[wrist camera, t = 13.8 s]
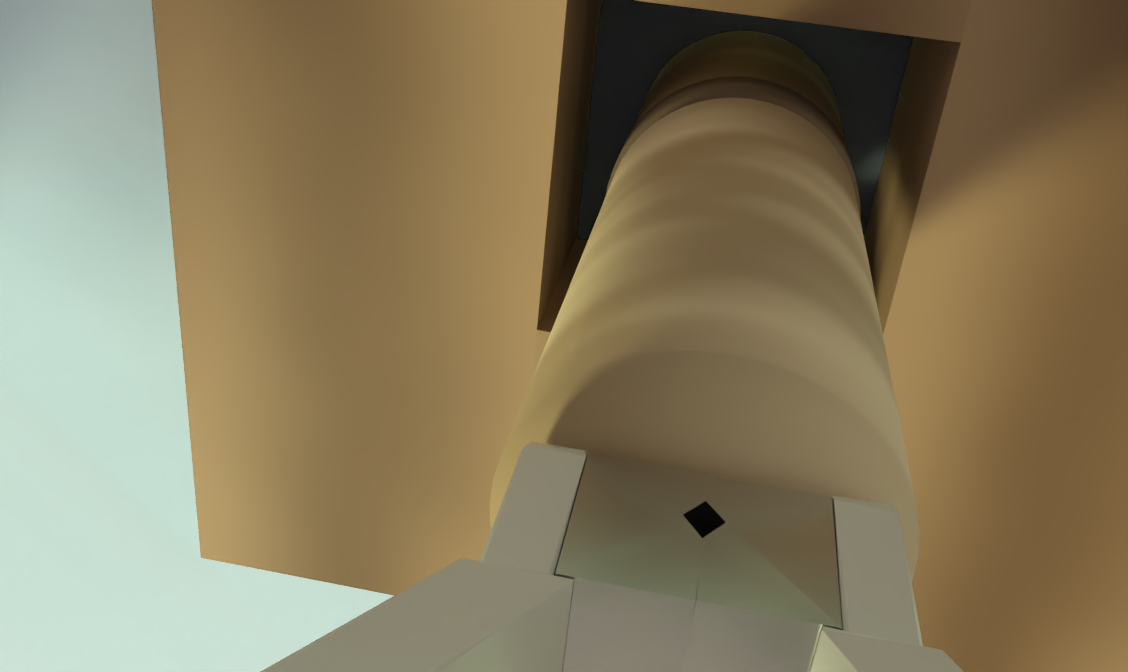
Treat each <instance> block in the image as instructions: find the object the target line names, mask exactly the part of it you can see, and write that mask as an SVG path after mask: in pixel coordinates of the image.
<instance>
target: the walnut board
mask: <svg viewBox="0 0 1128 672" xmlns="http://www.w3.org/2000/svg"><path fill="white" fill-rule="evenodd" d="M636 1H643V2H651V3H659V4H667V5H674V6H682V7H690V8H698V9H705V10H713V11H721V12H728V13H736V14H744V15H752V16H759V17H767V18H775V19H782V20H790V21H798V22H806V23H813V24H821V25H829V26H837V27H844V28H852V29H860V30H867V31H875V32H883V33H891V34H898V35H906V36H914V37H913V41H912V45H911V49H910V53H909V57H908V61H907V65H906V69H905V73H904V77H903V81H902V85H901V90H900V94H899V98H898V102H897V106H896V110H895V114H894V118H893V122H892V126H891V130H890V134H889V139H888V143H887V147H886V151H885V155H884V159H883V163H882V167H881V171H880V175H879V179H878V183H877V187H876V192H875V196H874V200H873V204H872V208H871V212H870V216H869V220H868V224H867V228H866V232H865V236H864V241H865V246H866V251H867V256H868V261H869V267H870V272H871V277H872V282H873V287H874V292H875V297H876V303H877V308H878V313H879V318H880V323H881V328H882V333H883V338H884V344H885V349H886V354H887V359H888V364H889V369H890V374H891V379H892V385H893V390H894V395H895V400H896V405H897V410H898V415H899V420H900V426H901V431H902V436H903V441H904V446H905V451H906V456H907V462H908V467H909V472H910V477H911V482H912V487H913V492H914V497H915V503H916V508H917V515H918V524H919V550H918V559H917V563H916V568H915V572H914V576H913V580H912V587H913V593H914V599H915V604H916V610H917V616H918V621H919V627H920V632H921V638H922V644H923V646H925V647H930V648H935V649H940V650H943V651H944V652H945V653H946V654H947V655H948V656H949V657H950V658H951V659H952V660H953V661H954V662H955V663H956V664H957V665H958V666H959V667H960V668H961V669H962V670H963V671H964V672H1128V0H636ZM601 2H602V0H152V10H153V21H154V32H155V44H156V55H157V66H158V77H159V89H160V100H161V111H162V123H163V134H164V145H165V156H166V168H167V179H168V190H169V202H170V213H171V224H172V235H173V247H174V258H175V269H176V281H177V292H178V303H179V315H180V326H181V337H182V348H183V360H184V371H185V382H186V394H187V405H188V416H189V427H190V439H191V450H192V461H193V473H194V484H195V495H196V506H197V518H198V529H199V540H200V552H201V558H206V559H211V560H216V561H221V562H226V563H232V564H237V565H242V566H247V567H252V568H257V569H262V570H267V571H273V572H278V573H283V574H288V575H293V576H298V577H303V578H308V579H313V580H319V581H324V582H329V583H334V584H339V585H344V586H349V587H354V588H359V589H365V590H370V591H375V592H380V593H385V594H390V595H397V594H399V593H401V592H402V591H404V590H406V589H408V588H409V587H411V586H413V585H415V584H416V583H418V582H420V581H422V580H424V579H425V578H427V577H429V576H431V575H432V574H434V573H436V572H438V571H439V570H441V569H443V568H445V567H446V566H448V565H450V564H452V563H454V562H455V561H457V560H459V559H461V558H464V559H470V560H475V561H480V558H481V555H482V553H483V550H484V548H485V545H486V542H487V540H488V537H489V534H490V532H491V527H490V496H491V490H492V483H493V478H494V475H495V472H496V469H497V466H498V463H499V460H500V457H501V455H502V452H503V450H504V447H505V445H506V442H507V440H508V437H509V435H510V432H511V430H512V427H513V425H514V422H515V420H516V417H517V415H518V412H519V410H520V408H521V405H522V403H523V400H524V398H525V395H526V393H527V390H528V388H529V385H530V383H531V380H532V378H533V375H534V373H535V370H536V368H537V365H538V363H539V361H540V358H541V356H542V353H543V351H544V348H545V346H546V343H547V341H548V338H549V336H550V333H551V331H552V328H553V326H554V323H555V321H556V318H557V316H558V314H559V311H560V309H561V306H562V304H563V301H564V299H565V296H566V294H567V291H568V289H569V286H570V284H571V281H572V279H573V276H574V274H575V271H576V269H577V266H578V264H579V262H580V259H581V257H582V254H583V252H584V249H585V247H586V244H587V242H588V240H582V239H576V237H577V227H578V218H579V209H580V199H581V190H582V180H583V171H584V162H585V152H586V143H587V133H588V124H589V115H590V105H591V96H592V86H593V77H594V67H595V58H596V49H597V39H598V30H599V20H600V11H601Z"/></svg>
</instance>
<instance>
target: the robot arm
mask: <svg viewBox="0 0 1128 672" xmlns="http://www.w3.org/2000/svg"><path fill="white" fill-rule="evenodd" d="M261 672H964V671H963V670H962V669H961V668H960V667H959V666H958V665H957V664H956V663H955V662H954V661H953V660H952V659H951V658H950V657H949V656H948V655H947V654H946V653H945V652H944V651H943V650H940V649H935V648H930V647H925V646H923V644H922V638H921V632H920V627H919V621H918V616H917V610H916V604H915V599H914V593H913V587H912V582H911V576H910V570H909V565H908V559H907V553H906V548H905V542H904V537H903V531H902V525H901V520H900V514H899V511H898V510H897V509H896V508H895V507H894V506H893V504H887V503H880V502H873V501H866V500H860V499H853V498H846V497H839V496H832V495H830V496H825V495H818V494H812V493H806V492H800V491H793V490H787V489H781V488H775V487H769V486H762V485H756V484H750V483H744V482H737V481H731V480H725V479H719V478H712V477H708V475H705V474H700V473H695V472H690V471H685V470H680V469H675V468H670V467H665V466H660V465H655V464H650V463H644V462H639V461H634V460H629V459H624V458H619V457H614V456H609V455H604V454H599V453H594V452H590V453H589V455H588V454H587V452H586V451H585V450H580V449H574V448H568V447H562V446H556V445H551V444H545V443H539V442H533V441H529V442H528V443H527V444H526V445H525V446H524V447H523V448H522V451H521V453H520V456H519V458H518V461H517V464H516V466H515V469H514V472H513V474H512V477H511V479H510V482H509V485H508V487H507V490H506V493H505V495H504V498H503V500H502V503H501V506H500V508H499V511H498V514H497V516H496V519H495V521H494V524H493V527H492V529H491V532H490V534H489V537H488V540H487V542H486V545H485V548H484V550H483V553H482V555H481V558H480V561H475V560H470V559H464V558H461V559H459V560H457V561H455V562H454V563H452V564H450V565H448V566H446V567H445V568H443V569H441V570H439V571H438V572H436V573H434V574H432V575H431V576H429V577H427V578H425V579H424V580H422V581H420V582H418V583H416V584H415V585H413V586H411V587H409V588H408V589H406V590H404V591H402V592H401V593H399V594H397V595H395V596H393V597H392V598H390V599H388V600H386V601H385V602H383V603H381V604H379V605H378V606H376V607H374V608H372V609H370V610H369V611H367V612H365V613H363V614H362V615H360V616H358V617H356V618H355V619H353V620H351V621H349V622H348V623H346V624H344V625H342V626H340V627H339V628H337V629H335V630H333V631H332V632H330V633H328V634H326V635H325V636H323V637H321V638H319V639H317V640H316V641H314V642H312V643H310V644H309V645H307V646H305V647H303V648H302V649H300V650H298V651H296V652H294V653H293V654H291V655H289V656H287V657H286V658H284V659H282V660H280V661H279V662H277V663H275V664H273V665H272V666H270V667H268V668H266V669H264V670H263V671H261Z"/></svg>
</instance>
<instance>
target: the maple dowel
mask: <svg viewBox="0 0 1128 672" xmlns="http://www.w3.org/2000/svg"><path fill="white" fill-rule="evenodd" d="M860 210H861V207H860V199H859V191H858V186H857V181H856V176H855V171H854V167H853V163H852V160H851V156H850V153H849V151H848V148H847V146H846V143H845V138H844V133H843V128H842V123H841V118H840V113H839V108H838V104H837V100H836V96H835V93H834V91H833V89H832V86H831V84H830V82H829V80H828V79H827V77H826V75H825V74H824V72H823V71H822V69H821V68H820V67H819V66H818V65H817V63H816V62H815V61H814V60H813V59H812V58H811V57H810V56H809V55H807V54H806V53H805V52H804V51H803V50H801V49H800V48H798V47H797V46H795V45H794V44H792V43H790V42H788V41H786V40H784V39H782V38H779V37H776V36H773V35H770V34H766V33H761V32H756V31H730V32H724V33H719V34H715V35H712V36H709V37H706V38H703V39H701V40H699V41H697V42H695V43H693V44H691V45H689V46H688V47H686V48H685V49H683V50H682V51H680V52H679V53H678V54H676V55H675V56H674V57H673V58H672V59H671V60H670V61H669V62H668V63H667V64H666V65H665V66H664V67H663V68H662V70H661V71H660V72H659V74H658V75H657V77H656V78H655V80H654V81H653V83H652V85H651V87H650V89H649V91H648V93H647V96H646V98H645V101H644V103H643V106H642V108H641V111H640V113H639V116H638V118H637V120H636V123H635V125H634V128H633V130H632V131H631V132H630V134H629V135H628V137H627V139H626V141H625V143H624V145H623V147H622V149H621V151H620V154H619V156H618V159H617V161H616V163H615V166H614V168H613V171H612V174H611V177H610V180H609V183H608V186H607V191H606V196H605V200H604V202H603V205H602V207H601V210H600V212H599V215H598V217H597V219H596V222H595V224H594V227H593V229H592V232H591V234H590V237H589V239H588V242H587V244H586V247H585V249H584V252H583V254H582V257H581V259H580V262H579V264H578V266H577V269H576V271H575V274H574V276H573V279H572V281H571V284H570V286H569V289H568V291H567V294H566V296H565V299H564V301H563V304H562V306H561V309H560V311H559V314H558V316H557V318H556V321H555V323H554V326H553V328H552V331H551V333H550V336H549V338H548V341H547V343H546V346H545V348H544V351H543V353H542V356H541V358H540V361H539V363H538V365H537V368H536V370H535V373H534V375H533V378H532V380H531V383H530V385H529V388H528V390H527V393H526V395H525V398H524V400H523V403H522V405H521V408H520V410H519V412H518V415H517V417H516V420H515V422H514V425H513V427H512V430H511V432H510V435H509V437H508V440H507V442H506V445H505V447H504V450H503V452H502V455H501V457H500V460H499V463H498V466H497V469H496V472H495V475H494V478H493V483H492V490H491V496H490V527H491V529H492V527H493V524H494V521H495V519H496V516H497V514H498V511H499V508H500V506H501V503H502V500H503V498H504V495H505V493H506V490H507V487H508V485H509V482H510V479H511V477H512V474H513V472H514V469H515V466H516V464H517V461H518V458H519V456H520V453H521V451H522V448H523V447H524V446H525V445H526V444H527V443H528V442H529V441H533V442H539V443H545V444H551V445H556V446H562V447H568V448H574V449H580V450H585V451H586V452H587V454H588V455H589V453H590V452H594V453H599V454H604V455H609V456H614V457H619V458H624V459H629V460H634V461H639V462H644V463H650V464H655V465H660V466H665V467H670V468H675V469H680V470H685V471H690V472H695V473H700V474H705V475H708V477H712V478H719V479H725V480H731V481H737V482H744V483H750V484H756V485H762V486H769V487H775V488H781V489H787V490H793V491H800V492H806V493H812V494H818V495H825V496H830V495H832V496H839V497H846V498H853V499H860V500H866V501H873V502H880V503H887V504H893V506H894V507H895V508H896V509H897V510H898V511H899V514H900V520H901V525H902V531H903V537H904V542H905V548H906V553H907V559H908V565H909V570H910V576H911V582H912V580H913V576H914V572H915V568H916V563H917V559H918V550H919V524H918V515H917V508H916V503H915V497H914V492H913V487H912V482H911V477H910V472H909V467H908V462H907V456H906V451H905V446H904V441H903V436H902V431H901V426H900V420H899V415H898V410H897V405H896V400H895V395H894V390H893V385H892V379H891V374H890V369H889V364H888V359H887V354H886V349H885V344H884V338H883V333H882V328H881V323H880V318H879V313H878V308H877V303H876V297H875V292H874V287H873V282H872V277H871V272H870V267H869V261H868V256H867V251H866V246H865V241H864V236H863V231H862V226H861V220H860Z"/></svg>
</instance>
